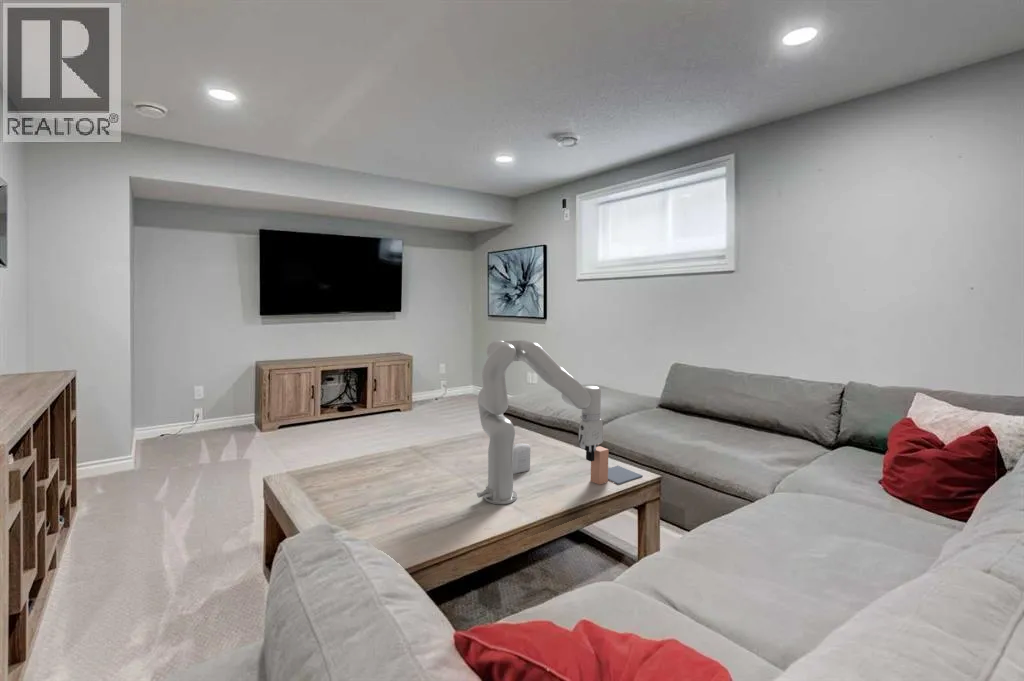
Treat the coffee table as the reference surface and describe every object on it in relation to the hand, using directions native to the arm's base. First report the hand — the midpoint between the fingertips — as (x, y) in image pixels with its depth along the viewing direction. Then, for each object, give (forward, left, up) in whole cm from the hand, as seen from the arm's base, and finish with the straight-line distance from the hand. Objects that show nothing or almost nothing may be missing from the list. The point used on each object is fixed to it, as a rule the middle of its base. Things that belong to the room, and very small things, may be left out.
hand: (590, 460), depth 196 cm
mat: (+17, 0, -10) cm, 20 cm away
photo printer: (-15, +28, -11) cm, 34 cm away
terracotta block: (+6, 0, -10) cm, 12 cm away
